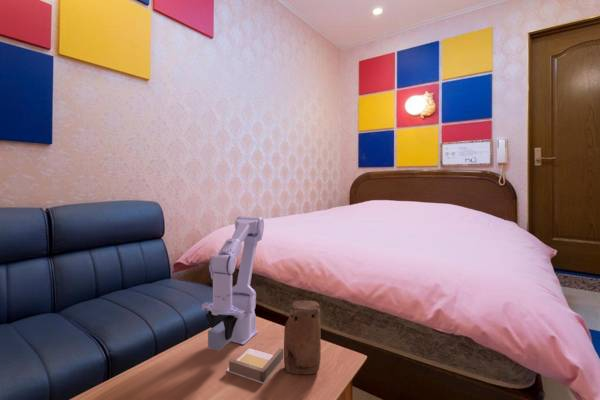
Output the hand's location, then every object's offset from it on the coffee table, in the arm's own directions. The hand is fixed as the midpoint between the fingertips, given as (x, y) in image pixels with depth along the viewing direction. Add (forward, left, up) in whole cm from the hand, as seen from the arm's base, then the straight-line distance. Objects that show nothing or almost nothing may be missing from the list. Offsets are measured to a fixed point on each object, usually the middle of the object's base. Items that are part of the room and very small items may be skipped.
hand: (222, 336), depth 88 cm
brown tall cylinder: (-8, +23, -9) cm, 26 cm away
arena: (-3, +10, -8) cm, 13 cm away
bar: (0, 0, -2) cm, 2 cm away
